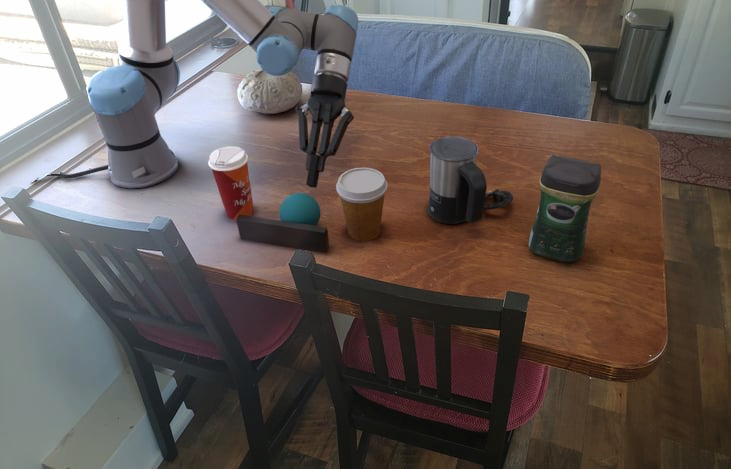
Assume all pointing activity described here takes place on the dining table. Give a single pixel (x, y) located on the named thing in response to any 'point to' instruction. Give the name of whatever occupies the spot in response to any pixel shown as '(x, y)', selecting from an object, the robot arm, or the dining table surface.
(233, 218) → the paper cup
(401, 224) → the dining table surface
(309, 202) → the ball
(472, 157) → the milk frother
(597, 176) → the coffee jar
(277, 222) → the block
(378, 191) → the disposable coffee cup
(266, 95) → the decorative shell
